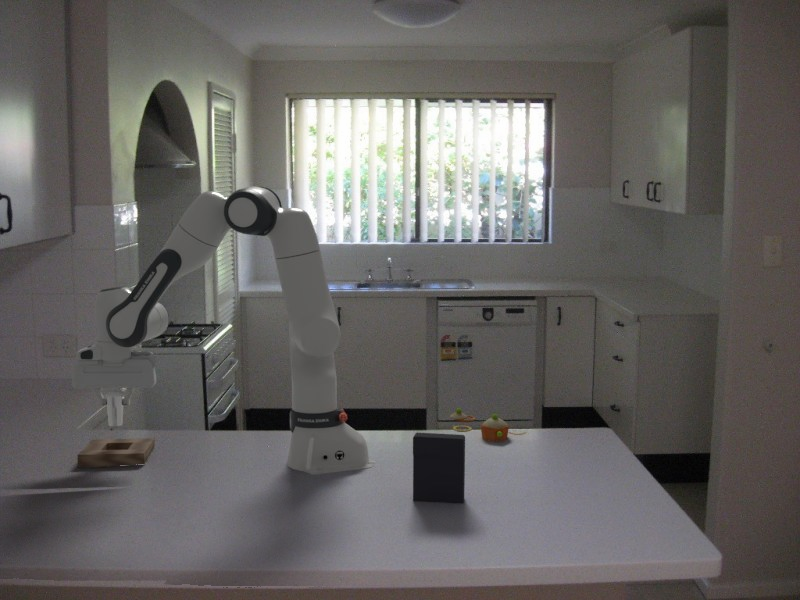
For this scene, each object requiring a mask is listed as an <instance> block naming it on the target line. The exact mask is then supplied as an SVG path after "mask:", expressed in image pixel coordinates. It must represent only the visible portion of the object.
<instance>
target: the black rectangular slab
mask: <svg viewBox="0 0 800 600" xmlns="http://www.w3.org/2000/svg"><path fill="white" fill-rule="evenodd" d="M412 461H413V462H412V466H413V467H412V468H413V469H412V470H413V471H412V500H413V502H422V503H423V502H425V503H441V504H443V503H444V504H459V505H461V504H464V501H465V485H466V484H465V481H466V480H465V478H466V477H465V476H466V475H465V474H466V473H465V471H466V470H465V469H466V463H465V462H466V436H465V435H464V434H451V433H436V432H435V433H433V432H415V434H414V435H413V437H412Z"/></svg>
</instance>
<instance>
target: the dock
mask: <svg viewBox="0 0 800 600" xmlns="http://www.w3.org/2000/svg"><path fill="white" fill-rule="evenodd" d="M155 439H156V438H155V437H152V438H148V437H147V438H108V439H106V438H103V439H91V440H90V441H89V442H88V443H87V444H86V445H85V446H84V447H83V448H82V449H81V450H80V452H79V453H78V454H77V468H78V469H87V468H88V469H89V468H92V467H93V468H108V467H107V466H120V465H136V464H137V465H138V464H145V462H146V461H147V462H148V460H149V458H150V457H149V456H151V455H152V453H153V451H154V450H155V448H154V447H156V445H155V444H156V443H155ZM153 449H154V450H153ZM151 452H152V453H151ZM150 454H151V455H150ZM148 457H149V458H148ZM147 459H148V460H147ZM147 462H146V463H147ZM145 465H146V464H145Z"/></svg>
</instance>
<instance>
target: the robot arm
mask: <svg viewBox="0 0 800 600" xmlns="http://www.w3.org/2000/svg"><path fill="white" fill-rule="evenodd" d="M231 230H234V231H235V232H237V233H240V234H243V235H249V236H250V235H251V236H260V237H267V238H268V239H269V240H270V243H271V245H272V249H273V255H274V258H275V264H276V269H277V273H278V277H279V282H280V286H281V292H282V294H283V299H284V301H285V305H286V309H287V313H288V316H289V322H288V344H289V346H288V347H289V359H290V361H289V362H290V373H291V408H290V412H289V429H290V432H291V433H290V434H291V435H290V443H289V451H288V455H287V459H286V462H285V463H286V466H287V467H289V468H290V469H292V470H295V471H300V472H305V473H307V474H309V475H313V476H314V475H315V476H316V475H321V474H322V475H323V474H331V473H339V472H347V471H358V470H365V469H371V468H372V467H373V468H374V466H375V465H376V464H377V460H373V459H372V458H370V457H369V449H368V444H367V441H366V439H365V437H364V436H363V435H362V433H360V432H359V431H358V430H356V429H355V428H353V427H351V426H350V425H349V424H347V423H346V422H347V420H348V414H347V413H346V412H345V410H344V409H343V408H342V407H341V408H340V407H338V405H337V404H338V398H337V397H338V395H337V394H338V391H337V390H338V389H337V388H338V387H337V383H338V381H337V380H338V376H337V372H336V371H337V370H336V365H335V363H336V362H335V351H336V350H337V349H338V347H339V346H340V343H341V339H342V338H341V337H342V333H341V328H340V323H339V321H338V320H339V319H338V316H337V312H336V309H335V305H334V300H333V298H332V294H331V291H330V290H331V289H330V288H329V284H328V281H327V280H328V279H327V276H326V271H325V267H324V262H323V258H322V253H321V252H322V251H321V249H320V248H321V247H320V243H319V239H318V236H317V233H316V230H315V227H314V225H313V222H312V219H311V217H310V215H309V214H308V212H307V211H306V210H305V209H302V208H298V207H288V208H283V206H282V201H281V199H280V197H279V196H278V194H276V193H275V191H273V190H272V189H270V188H268V187H265V186H254V185H253V186H252V185H251V186H245V187H243V188H240V189H237V190H235V191H233V192H232V193H231V194H230V195H229V196H228V197H227V196H226V195H223V194H222V193H220V192H218V191H212V190H207V191H204V192H202V193H200V194H199V195H198V196H197V197H196V198H195V200H194V201H193V202H192V203H191V204H190V205H189V206H188V207H187V208H186V210H185V212H184V213H183V215H182V216H181V218H180V219H179V221H178V222H177V224H176V226H175V227H174V229H173V231H172V232H171V234H170V235H169V237H168V239H167V240H166V242H165V244H164V245H163V247H162V248H161V250H160V251H159V253H158V254H157V255H156V257H155V259H154V260H153V261H152V263H151V264H150V265H149V266H148V268H147V270H146V271H145V272H144V273H143V275H142V276H141V278H140V279H139V281H138V282H137V284H136V285H135V287H134V288H133V289H132V290H131V289H130V288H129V287H128V286H123V285H122V286H115V287H110V288H104V289H102V290H99V292H97V294H96V296H95V297H96V298H95V303H94V304H95V305H94V325H95V327H96V334H95V338H94V341H95V342H94V343H95V344H91V345H88V346H86V347H83V348H81V349H78V350H77V352H76V353H75V358H76V360H77V361H75V362H74V363H73V367H72V374H71V375H72V376H71V385H72V386H73V387H74V388H75V389H95V390H94V392H95V394H96V396H97V398H98V399H99V405H100V406H102V407H103V406H107V403H106V396H105V395H104V394H103V393H102V392H103V391H104V389H118V388H120V389H126V392H127V393H128V395H127V396H126V397H125V396H124V398H123V406H130V404H131V397H132V395H133V394H134V392H135V389H142V388H143V389H149V388H150V389H151V388H153V387H154V386H155V385H156V383H157V371H156V366H157V364H158V363H157V355H156V354H155V353H154V352H152V351H150V350H133V347H135V346H137V345H138V344H140V343H143V342H146V341H150V340H152V339H155V338H158V337H159V336H161V335H163V334H164V333H165V332H166V331H167V329H168V327H169V325H170V317H169V316H170V315H169V312H168V310H167V308H166V306H165V305H163V304H162V303H161V302H159V301H160V300H161V299H162V297H163V296H164V294H165V292H166V291H168V289H169V288H170V287H171V286H172V284H174V283H175V282H176V281H178V280H179V279H180V278H182V277H184V276H186V275H188V274H190V273H192V272H194V271H197V270H199V269H201V268H202V267H203V266H204V265H206V263H208V262H209V260H210V259H211V258H212V257H213V255H214V254H215V252H216V251H217V249H218V248H219V246H220V244H221V242H223V240H224V238H225V237H226V235H227V234H228V233H229V231H231Z"/></svg>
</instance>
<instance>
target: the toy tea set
mask: <svg viewBox="0 0 800 600" xmlns="http://www.w3.org/2000/svg"><path fill="white" fill-rule="evenodd" d="M449 418H450V419H453V420H454V421H456V422H459V423H472V422H474V421H475V420H476V418H475V416H472V415H467V414H466V413H463V412H462V409H461V408H460V407H458V408H457V409H456V410H455V412H453V413H452V414H451V415H449ZM457 428H458V429H457ZM460 428H468V429H460ZM509 428H510V427H509V424H508V423H506V421H504V420H503V419H502V418H499V415H498V414H497V413H494V414H492V416H491V417H490V418H488V419H486V420H485V421H484V422H483V423H482V424H480V431H481V432H480V433H481V437H482V439H483V440H485V441H488V442H502V441H505V440H507V439H508V435H509V434H511V435H513V436H515V435H518V436H519V435H520V436H521V435H525V434H528V432H527V431H524V432H521V433H513V432H516V431H517V429H515V430H513V432H511V431H509ZM452 430H453V431H455V432H469V431H472V430H473V428H472V427H471V426H468V425H454V426H452Z"/></svg>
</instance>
